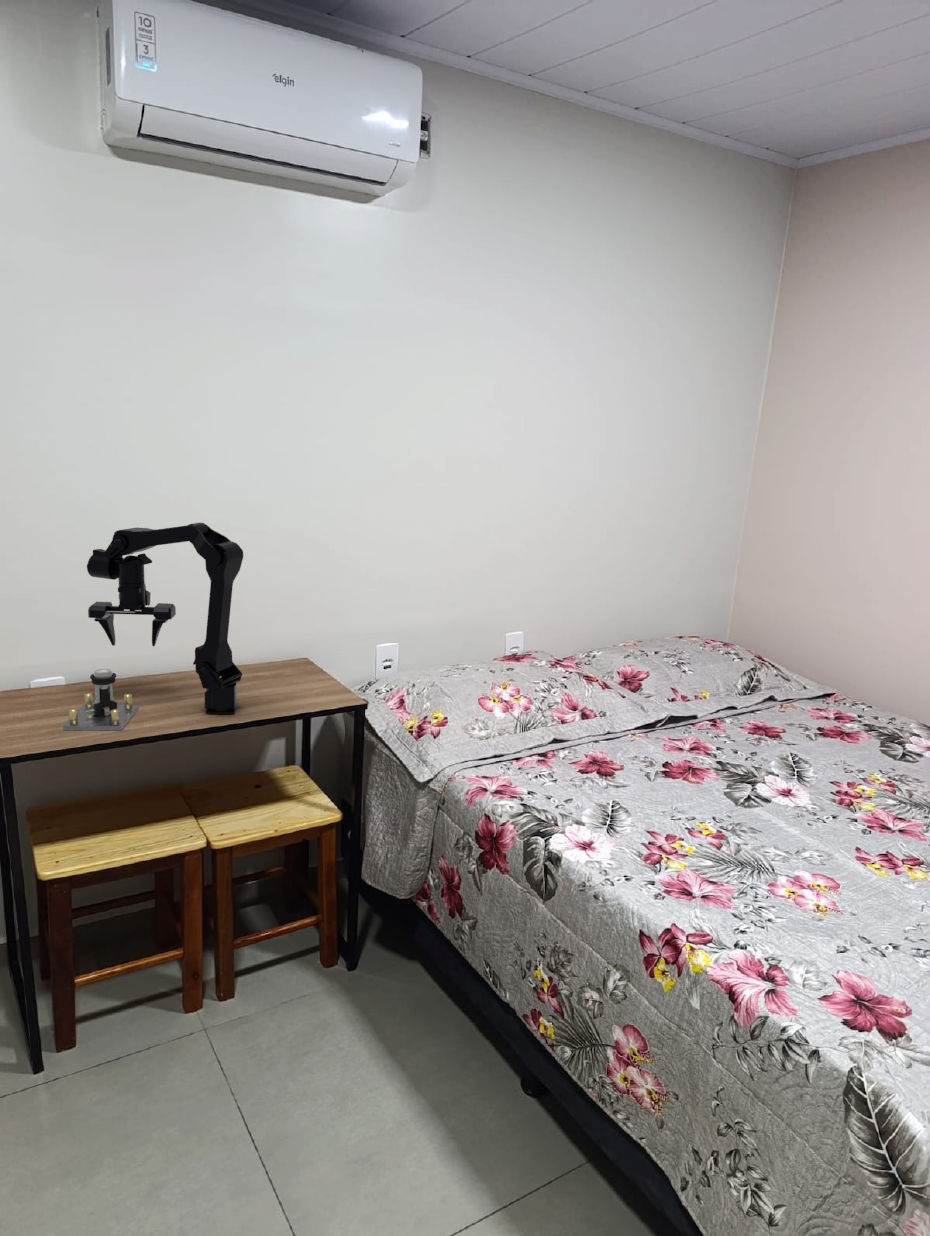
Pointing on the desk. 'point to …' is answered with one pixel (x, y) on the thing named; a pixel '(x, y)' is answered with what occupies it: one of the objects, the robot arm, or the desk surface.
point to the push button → (103, 692)
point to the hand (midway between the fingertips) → (133, 645)
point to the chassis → (105, 722)
